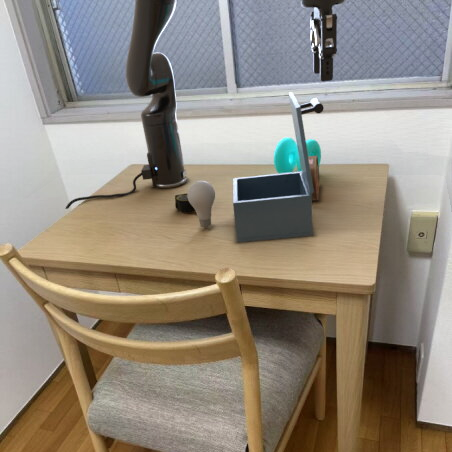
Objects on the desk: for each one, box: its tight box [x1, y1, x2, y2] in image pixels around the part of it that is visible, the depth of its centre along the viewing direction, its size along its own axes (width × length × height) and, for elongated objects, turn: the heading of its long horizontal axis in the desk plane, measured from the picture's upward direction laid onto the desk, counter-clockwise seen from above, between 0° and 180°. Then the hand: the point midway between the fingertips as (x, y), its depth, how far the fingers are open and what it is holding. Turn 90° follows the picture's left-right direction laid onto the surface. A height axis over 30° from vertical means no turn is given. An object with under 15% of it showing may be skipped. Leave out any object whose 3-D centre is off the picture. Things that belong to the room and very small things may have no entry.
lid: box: [287, 91, 325, 193], centre depth 96 cm, size 17×15×5 cm
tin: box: [308, 155, 320, 201], centre depth 116 cm, size 15×3×8 cm, turn 168°
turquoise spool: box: [273, 136, 322, 174], centre depth 127 cm, size 10×10×10 cm
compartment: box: [232, 171, 313, 243], centre depth 104 cm, size 16×15×9 cm
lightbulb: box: [187, 180, 216, 229], centre depth 105 cm, size 6×6×11 cm
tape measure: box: [174, 192, 196, 214], centre depth 117 cm, size 7×7×4 cm
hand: (322, 76), depth 89 cm, fingers open, 8 cm apart
